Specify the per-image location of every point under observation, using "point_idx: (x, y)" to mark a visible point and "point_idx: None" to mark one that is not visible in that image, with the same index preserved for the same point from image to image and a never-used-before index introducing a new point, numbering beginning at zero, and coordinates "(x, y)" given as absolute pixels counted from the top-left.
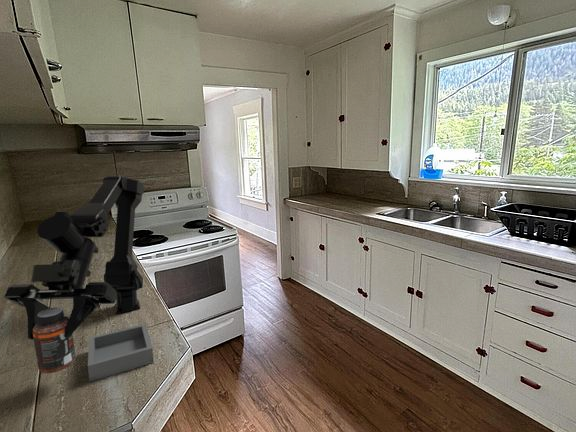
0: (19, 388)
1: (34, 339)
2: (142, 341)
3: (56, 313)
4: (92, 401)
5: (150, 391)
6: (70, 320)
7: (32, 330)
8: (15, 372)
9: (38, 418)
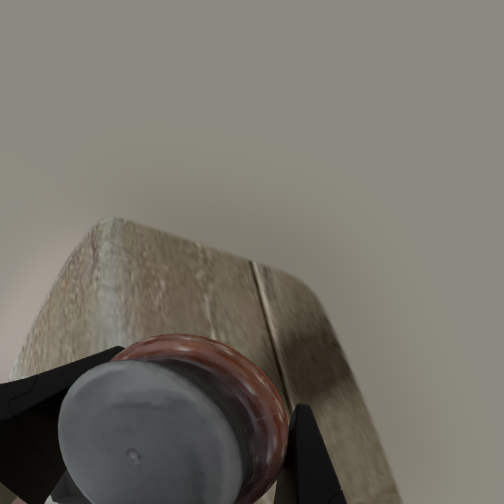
0: (337, 415)
1: (268, 377)
2: (66, 473)
3: (76, 384)
4: (148, 298)
5: (60, 284)
6: (62, 379)
7: (293, 430)
8: (371, 481)
9: (249, 284)
